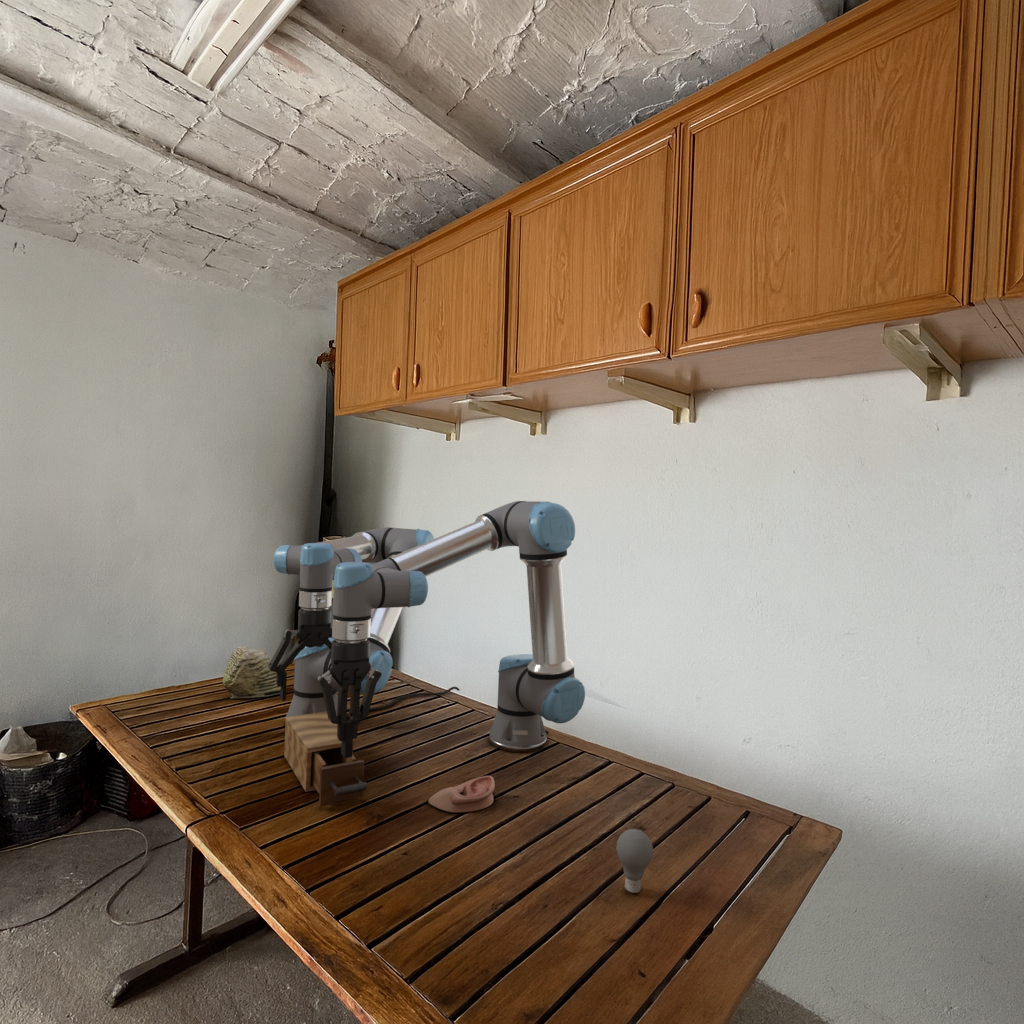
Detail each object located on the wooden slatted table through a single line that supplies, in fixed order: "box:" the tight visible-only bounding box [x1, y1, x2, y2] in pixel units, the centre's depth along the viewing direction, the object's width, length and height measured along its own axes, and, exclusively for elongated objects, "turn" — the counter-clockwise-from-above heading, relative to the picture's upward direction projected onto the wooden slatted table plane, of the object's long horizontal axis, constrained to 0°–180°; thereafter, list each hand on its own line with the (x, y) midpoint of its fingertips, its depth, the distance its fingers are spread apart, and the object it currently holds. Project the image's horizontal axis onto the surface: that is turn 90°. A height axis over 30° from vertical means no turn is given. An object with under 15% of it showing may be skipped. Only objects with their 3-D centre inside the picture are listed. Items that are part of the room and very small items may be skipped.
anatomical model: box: [427, 775, 496, 813], centre depth 134 cm, size 13×4×12 cm
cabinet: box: [283, 712, 354, 793], centre depth 147 cm, size 21×10×9 cm, turn 32°
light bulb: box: [615, 828, 654, 894], centre depth 106 cm, size 6×6×10 cm
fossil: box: [222, 646, 288, 699], centre depth 198 cm, size 9×18×15 cm, turn 132°
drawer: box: [311, 747, 368, 807], centre depth 136 cm, size 26×9×8 cm, turn 32°
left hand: (312, 695), depth 152 cm, fingers open, 13 cm apart
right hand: (346, 755), depth 128 cm, fingers closed
